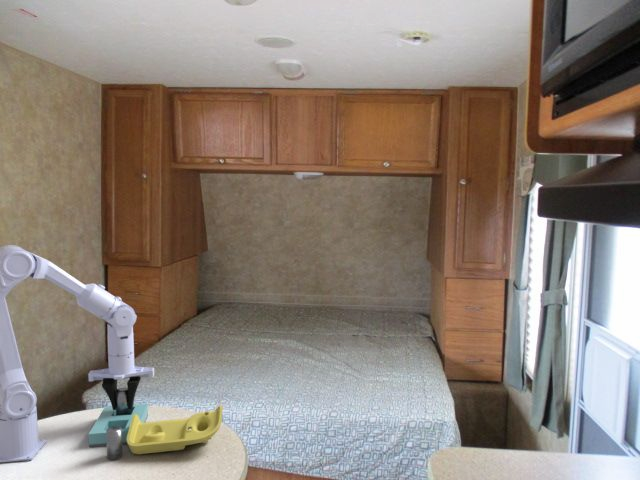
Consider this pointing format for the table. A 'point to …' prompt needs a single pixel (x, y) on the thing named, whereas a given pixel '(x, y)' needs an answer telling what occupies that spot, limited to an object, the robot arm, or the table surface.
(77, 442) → the table surface
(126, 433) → the housing
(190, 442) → the plastic component
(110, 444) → the peg
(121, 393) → the peg
